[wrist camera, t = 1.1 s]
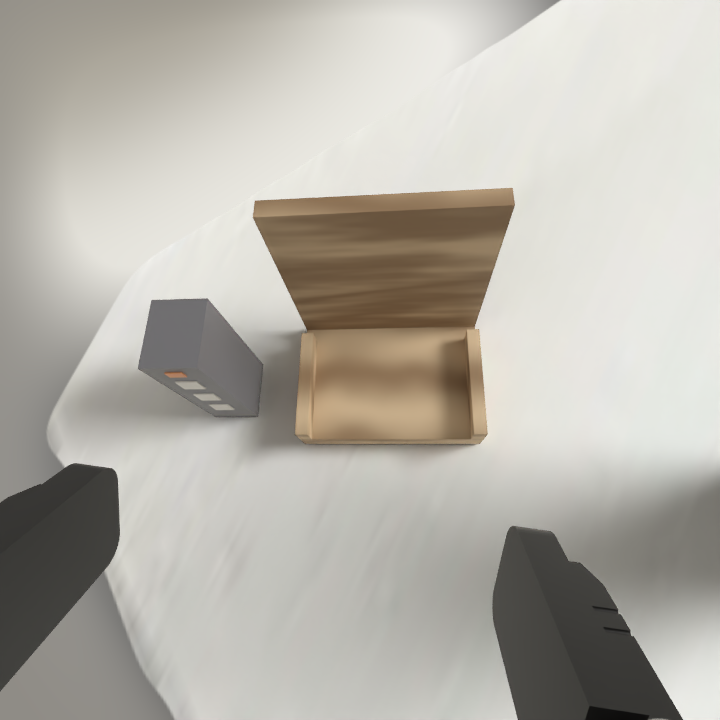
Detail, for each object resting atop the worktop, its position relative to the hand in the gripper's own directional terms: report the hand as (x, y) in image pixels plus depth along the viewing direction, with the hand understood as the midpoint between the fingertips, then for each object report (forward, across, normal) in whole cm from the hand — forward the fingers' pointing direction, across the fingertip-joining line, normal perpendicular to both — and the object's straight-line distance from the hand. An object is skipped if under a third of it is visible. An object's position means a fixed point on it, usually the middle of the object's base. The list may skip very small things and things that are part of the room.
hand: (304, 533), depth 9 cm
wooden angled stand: (+31, -2, +7) cm, 32 cm away
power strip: (+31, +11, +10) cm, 35 cm away
